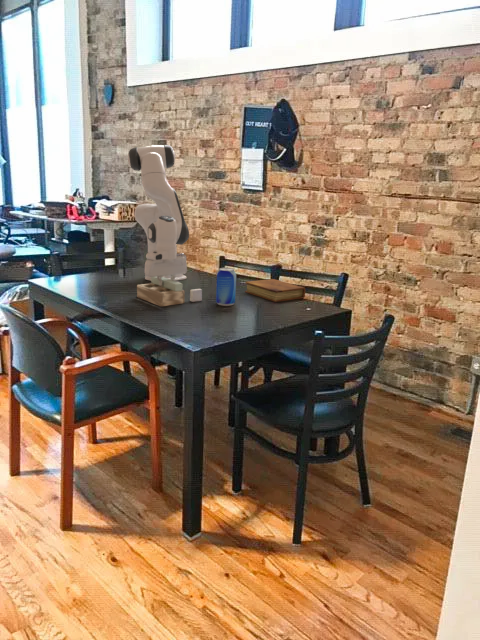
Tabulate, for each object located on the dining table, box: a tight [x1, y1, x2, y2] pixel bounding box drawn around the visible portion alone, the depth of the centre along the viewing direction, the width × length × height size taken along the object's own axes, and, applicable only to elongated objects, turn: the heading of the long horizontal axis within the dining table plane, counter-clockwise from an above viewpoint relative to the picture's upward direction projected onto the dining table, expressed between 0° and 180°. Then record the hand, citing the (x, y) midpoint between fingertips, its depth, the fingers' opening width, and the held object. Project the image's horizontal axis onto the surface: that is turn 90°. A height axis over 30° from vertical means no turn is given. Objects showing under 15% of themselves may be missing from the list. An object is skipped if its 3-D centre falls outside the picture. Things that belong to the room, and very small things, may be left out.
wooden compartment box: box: [136, 282, 186, 307], centre depth 233 cm, size 12×20×6 cm, turn 40°
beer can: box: [215, 267, 237, 307], centre depth 231 cm, size 8×8×16 cm
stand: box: [178, 281, 203, 303], centre depth 242 cm, size 5×20×6 cm, turn 40°
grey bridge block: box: [150, 277, 183, 292], centre depth 235 cm, size 4×20×8 cm, turn 40°
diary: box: [244, 278, 306, 303], centre depth 256 cm, size 23×19×6 cm
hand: (166, 285), depth 234 cm, fingers closed on grey bridge block, 3 cm apart
